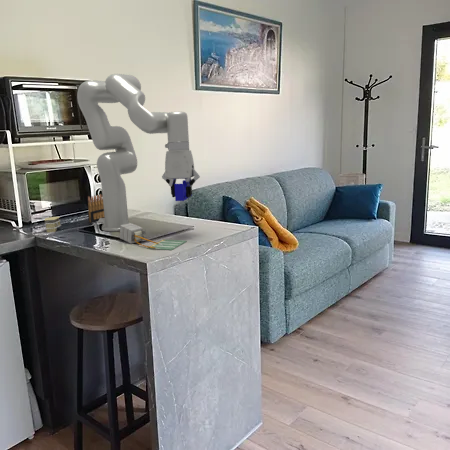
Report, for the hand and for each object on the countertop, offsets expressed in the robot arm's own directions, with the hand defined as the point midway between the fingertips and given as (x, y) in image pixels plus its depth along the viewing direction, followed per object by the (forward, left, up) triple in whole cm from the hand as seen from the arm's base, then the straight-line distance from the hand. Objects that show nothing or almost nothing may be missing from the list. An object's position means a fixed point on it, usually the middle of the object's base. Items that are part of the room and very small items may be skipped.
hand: (181, 196), depth 168 cm
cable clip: (0, 0, -1) cm, 1 cm away
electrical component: (-9, -13, -15) cm, 22 cm away
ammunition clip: (-54, +21, -16) cm, 60 cm away
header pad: (-1, -12, -15) cm, 20 cm away
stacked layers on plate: (-61, -1, -16) cm, 63 cm away
